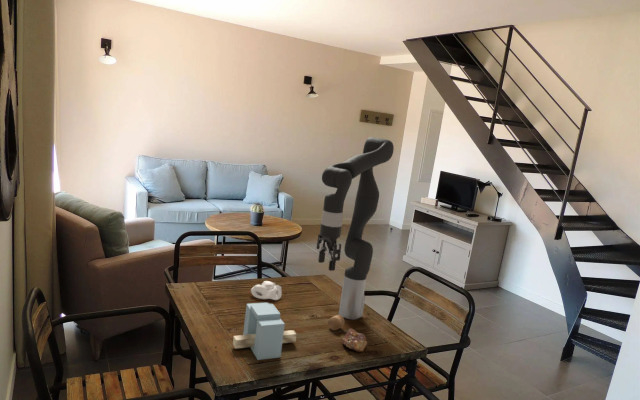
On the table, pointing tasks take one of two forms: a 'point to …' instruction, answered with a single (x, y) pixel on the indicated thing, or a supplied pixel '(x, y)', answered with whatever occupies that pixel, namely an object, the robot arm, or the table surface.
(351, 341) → the mineral specimen
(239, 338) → the long cream stick
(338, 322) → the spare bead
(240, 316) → the table surface
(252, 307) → the light blue notched block
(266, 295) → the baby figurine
